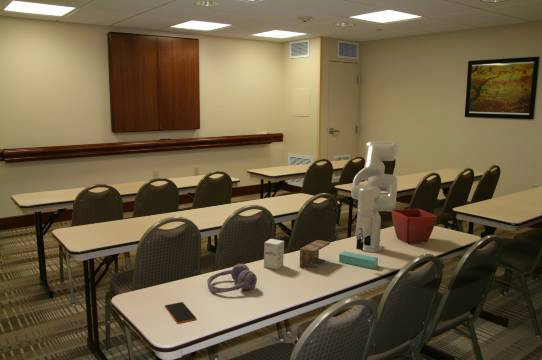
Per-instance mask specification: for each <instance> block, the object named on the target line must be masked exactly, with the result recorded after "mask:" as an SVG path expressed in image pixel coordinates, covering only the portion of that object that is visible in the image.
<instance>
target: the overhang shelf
mask: <svg viewBox="0 0 542 360" xmlns="http://www.w3.org/2000/svg"><path fill="white" fill-rule="evenodd" d="M330 244H331V243H330V241H325V240H319V239H316V240H315V241H312V242H310V243H308V244H307V245H305V246H303V247H301V248H299V268H300V269H302V268H304V267H310V268H311V267H312V268H316V269H317V268H319V267H318V264H317V263H314V262H318V263H322V264H325V263H326V259H323V258H319V257H320V250H322V249H324V248H325V247H328V246H329V245H330Z"/></svg>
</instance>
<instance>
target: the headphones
mask: <svg viewBox="0 0 542 360" xmlns="http://www.w3.org/2000/svg"><path fill="white" fill-rule="evenodd" d="M229 275H231V278H232V279H233V281H234V282H236V283H237V284H236V285H233V286H232V287H217V286H215V285H213V284H212V282H213V281H214V280H216V279H217V278H218V277H221V276H222V277H223V276H229ZM257 282H258V277H257V275H256V274H255V273H254V272H253V271H252V270H250V268H249V266H248V265H246V264H244V263H237V264H235V265H234V266H233V267H232V268H231V269H229V270H224V271H221V272H218V273H215V274H212V275H211V276H209V277H208V278H207V279H206V283H207V289H208V291H210V292H211V293H214V294H222V293H223V294H224V293H228V292H232V291H236V290H237V291H239V290H240V289H241V290H246V291H248V290H251V289H254V287H255V286H256V285H257Z"/></svg>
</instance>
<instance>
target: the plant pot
mask: <svg viewBox="0 0 542 360" xmlns="http://www.w3.org/2000/svg"><path fill="white" fill-rule="evenodd" d="M391 217H392V223H393V228H394V232H395V235H396V238H397V239H398V240H400V241H401V242H403V243H405V242H406V244H407V243H408V244H407V245H411V243H416V244H421V243H420V242H427V243H428V240H429V239H430V238H431V235H432V233H433V231H434V228H435V225H436V222H437V219H438V216H437V215H435V214H433V213H431V212H428V211H426V210H423V209H421V208H406V209H394V210H393V211H391Z"/></svg>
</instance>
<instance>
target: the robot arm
mask: <svg viewBox="0 0 542 360" xmlns="http://www.w3.org/2000/svg"><path fill="white" fill-rule="evenodd" d="M364 149H365V161H364V168H363V167H362V169H360V170H359V171H358V173H356V174H355V175H354V178H353V180H352V184H351V190H350V191H351V192H350V193H351V198H352V199H354V200H357V202H358V203H357V219H356V223H355V224H356V225H355V237H356V249H355V250H360V251H363V252H368V253H376V252H377V253H378V252H382V251H383V246H382V245H380V244H381V226H382V224H381V222H382V218H381V214H380V213H379V212H378V211H381V212H382V211H383V212H392V211H393V210H396V209H395V208H396V204H397V193H398V178H397V176H396V175H394V174H389V173H385V168H386V166H385V164H384V162H383V161H385V162H386V161H389V162H393V161H395V159H396V157H397V155H398V153H399V152H398V151H399V145H398V143H397V142H395V141H380V140H373V141H368V142H366V144H365V148H364ZM366 179H367V185H364V184H360V183H361V182H362V181H365V180H366Z"/></svg>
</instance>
